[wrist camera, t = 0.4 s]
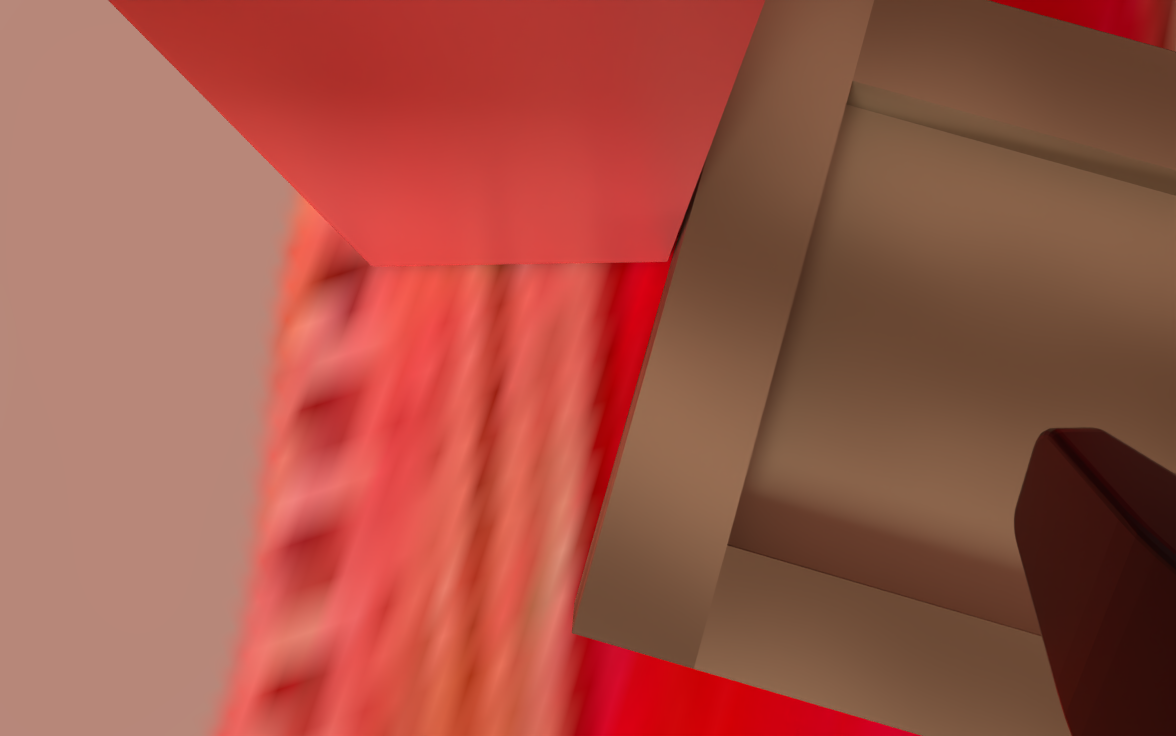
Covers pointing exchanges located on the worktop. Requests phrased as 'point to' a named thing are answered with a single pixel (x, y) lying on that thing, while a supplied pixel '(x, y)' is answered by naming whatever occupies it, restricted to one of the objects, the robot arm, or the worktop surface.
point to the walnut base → (892, 356)
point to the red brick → (471, 115)
